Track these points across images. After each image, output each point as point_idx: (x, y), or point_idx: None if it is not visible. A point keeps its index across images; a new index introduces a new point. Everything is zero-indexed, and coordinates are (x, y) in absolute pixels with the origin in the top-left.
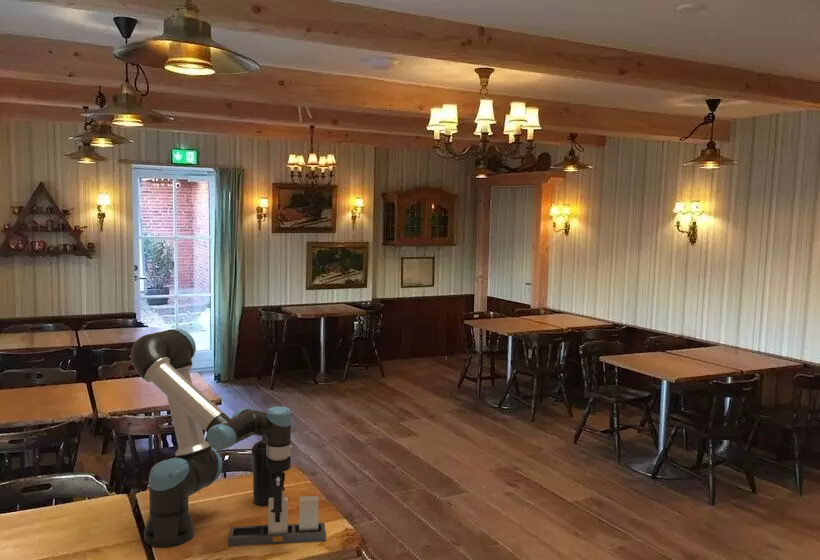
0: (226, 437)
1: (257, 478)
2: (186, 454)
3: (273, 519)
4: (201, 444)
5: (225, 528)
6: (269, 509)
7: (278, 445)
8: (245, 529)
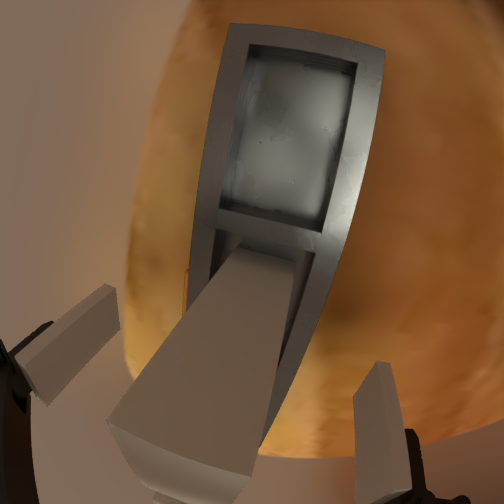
0: None
1: None
2: None
3: (54, 325)
4: None
5: (446, 67)
6: (147, 370)
7: None
8: (344, 133)
